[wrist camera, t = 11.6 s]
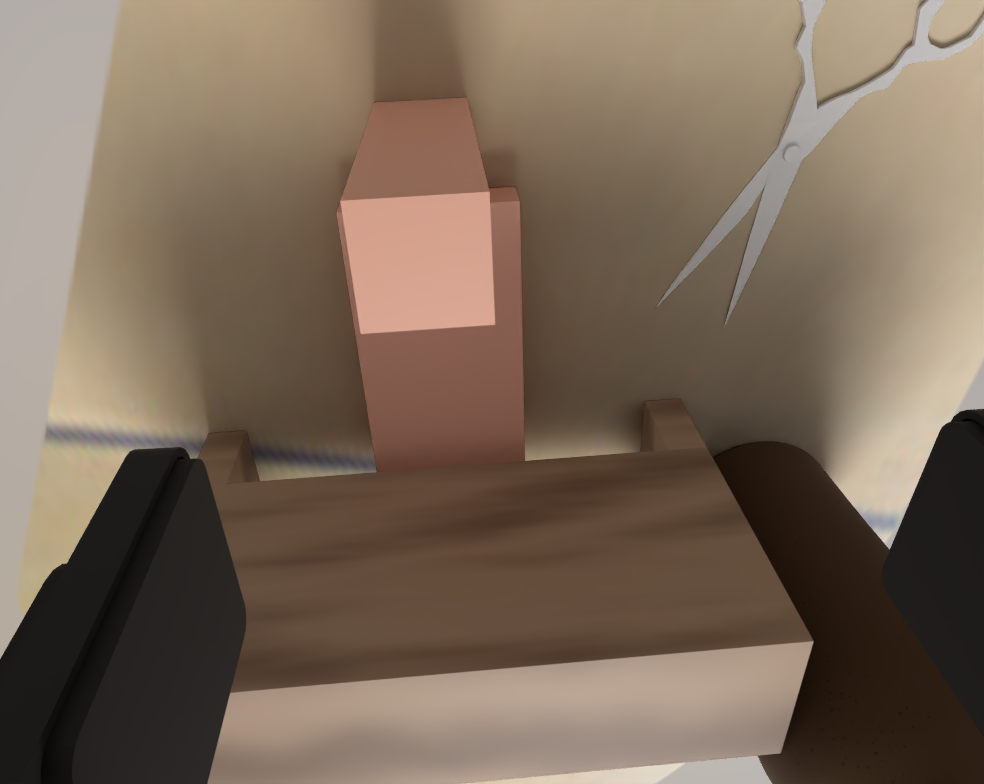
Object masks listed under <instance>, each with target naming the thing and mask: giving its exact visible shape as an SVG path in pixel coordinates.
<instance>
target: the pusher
mask: <svg viewBox="0 0 984 784" xmlns="http://www.w3.org/2000/svg"><path fill="white" fill-rule="evenodd" d="M336 215H337V221H338V227H339V234H340V240H341V246H342V253H343V259H344V266H345V272H346V278H347V285H348V291H349V297H350V304H351V310H352V317H353V323H354V329H355V336H356V342H357V348H358V355H359V361H360V367H361V374H362V380H363V387H364V393H365V399H366V406H367V412H368V418H369V425H370V431H371V438H372V444H373V450H374V457H375V463H376V469H377V472H389V471H402V470H415V469H428V468H441V467H454V466H467V465H480V464H493V463H506V462H519V461H525V435H524V384H523V333H522V282H521V231H520V200H519V197H518V194H517V191H516V188H515V187H501V188H489V187H488V183H487V179H486V175H485V171H484V166H483V162H482V158H481V154H480V150H479V146H478V142H477V137H476V133H475V129H474V125H473V121H472V117H471V113H470V109H469V104H468V100H467V97H464V98H446V99H428V100H410V101H392V102H375V103H374V104H373V107H372V110H371V113H370V116H369V119H368V122H367V125H366V128H365V131H364V133H363V136H362V139H361V142H360V145H359V148H358V151H357V154H356V157H355V160H354V163H353V165H352V168H351V171H350V174H349V177H348V180H347V183H346V186H345V189H344V192H343V195H342V197H341V200H340V203H339V206H338V209H337V211H336Z"/></svg>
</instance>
